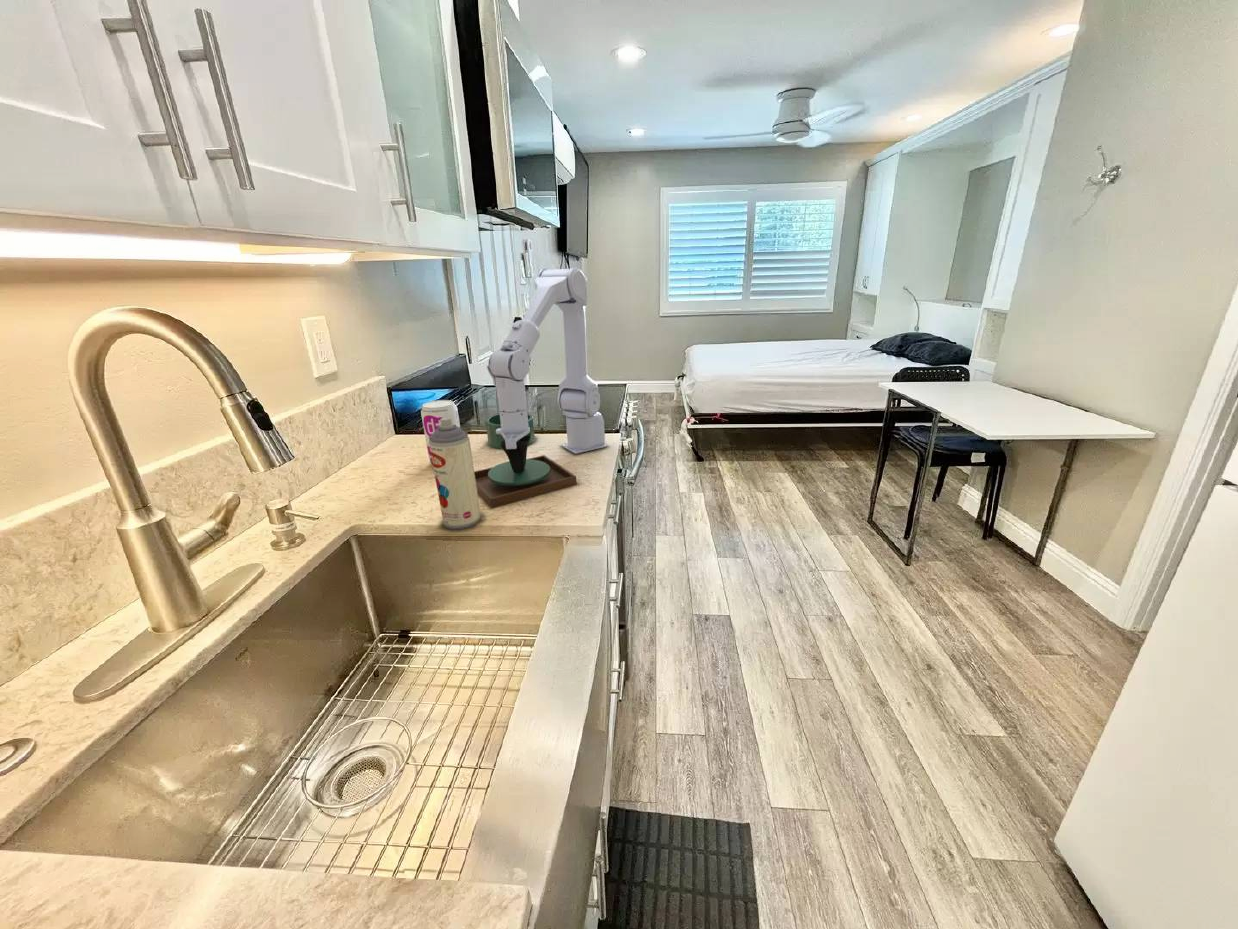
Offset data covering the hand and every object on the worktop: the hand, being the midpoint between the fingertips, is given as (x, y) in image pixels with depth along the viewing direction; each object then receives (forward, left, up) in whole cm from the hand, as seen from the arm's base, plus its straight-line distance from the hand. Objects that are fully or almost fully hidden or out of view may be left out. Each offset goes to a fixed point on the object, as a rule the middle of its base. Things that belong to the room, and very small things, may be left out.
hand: (519, 469), depth 107 cm
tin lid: (0, 0, -1) cm, 1 cm away
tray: (0, 0, -3) cm, 3 cm away
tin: (-9, -28, -3) cm, 30 cm away
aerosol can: (+16, +10, -3) cm, 19 cm away
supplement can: (+10, -22, -3) cm, 24 cm away
